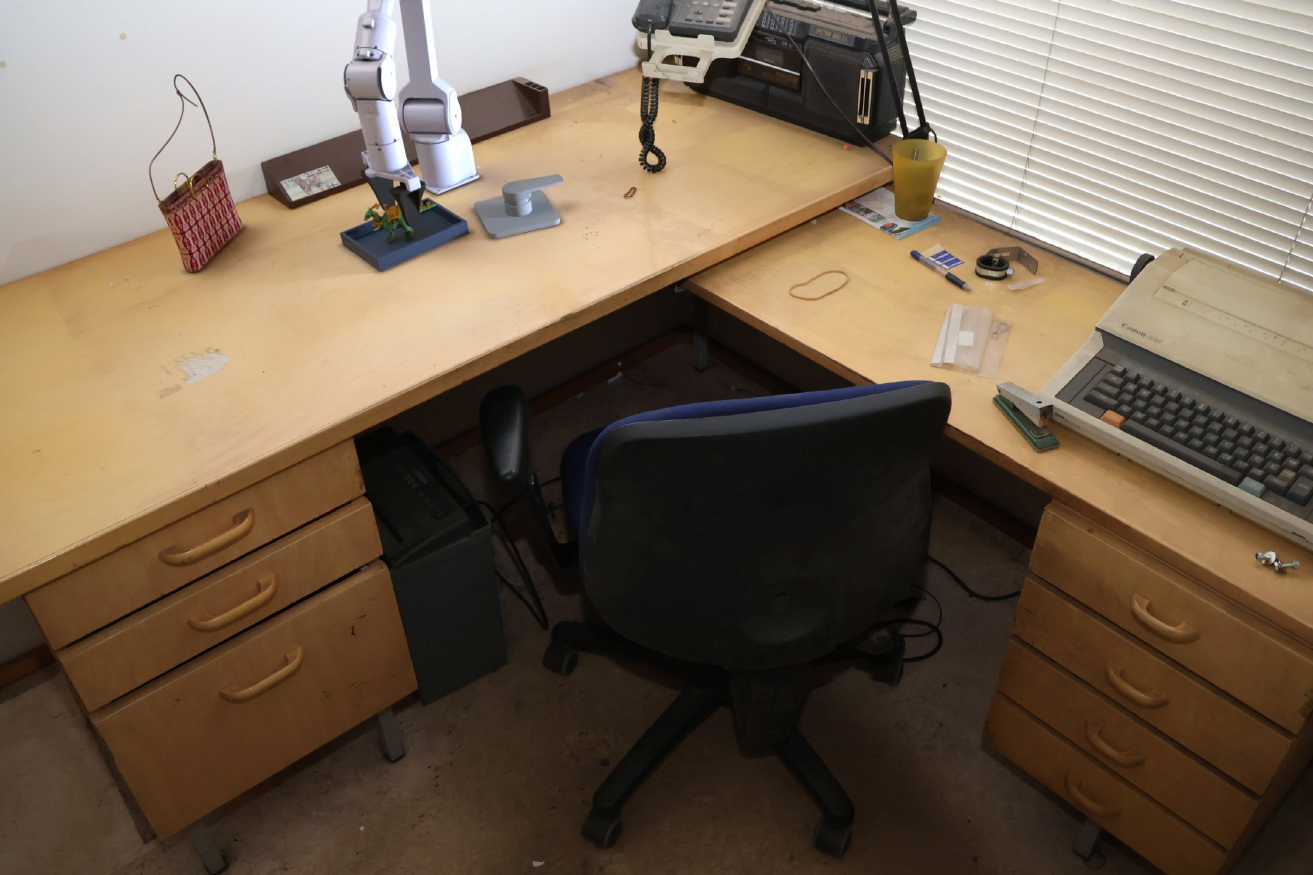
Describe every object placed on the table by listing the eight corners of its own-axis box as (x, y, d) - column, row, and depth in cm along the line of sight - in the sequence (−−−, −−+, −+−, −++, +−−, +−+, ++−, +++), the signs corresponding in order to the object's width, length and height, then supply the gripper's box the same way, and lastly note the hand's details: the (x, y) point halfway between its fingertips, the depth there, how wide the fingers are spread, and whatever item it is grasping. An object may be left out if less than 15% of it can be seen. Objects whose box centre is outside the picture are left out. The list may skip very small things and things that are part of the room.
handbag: (261, 214, 177) (214, 73, 161) (197, 276, 162) (139, 128, 146) (223, 211, 179) (174, 72, 162) (157, 273, 163) (95, 125, 147)
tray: (430, 209, 176) (427, 197, 175) (469, 233, 169) (467, 220, 168) (342, 245, 168) (339, 232, 166) (379, 271, 161) (376, 259, 159)
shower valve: (573, 191, 167) (485, 210, 163) (576, 220, 171) (490, 240, 167) (551, 161, 176) (467, 179, 172) (554, 190, 180) (473, 207, 176)
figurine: (369, 239, 168) (357, 194, 163) (440, 225, 170) (431, 181, 165) (371, 248, 166) (359, 203, 160) (443, 234, 168) (434, 189, 163)
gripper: (337, 132, 159) (357, 210, 168) (384, 160, 151) (403, 240, 160) (376, 119, 163) (394, 195, 171) (424, 145, 154) (440, 224, 163)
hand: (401, 216), depth 166 cm, fingers open, 7 cm apart
